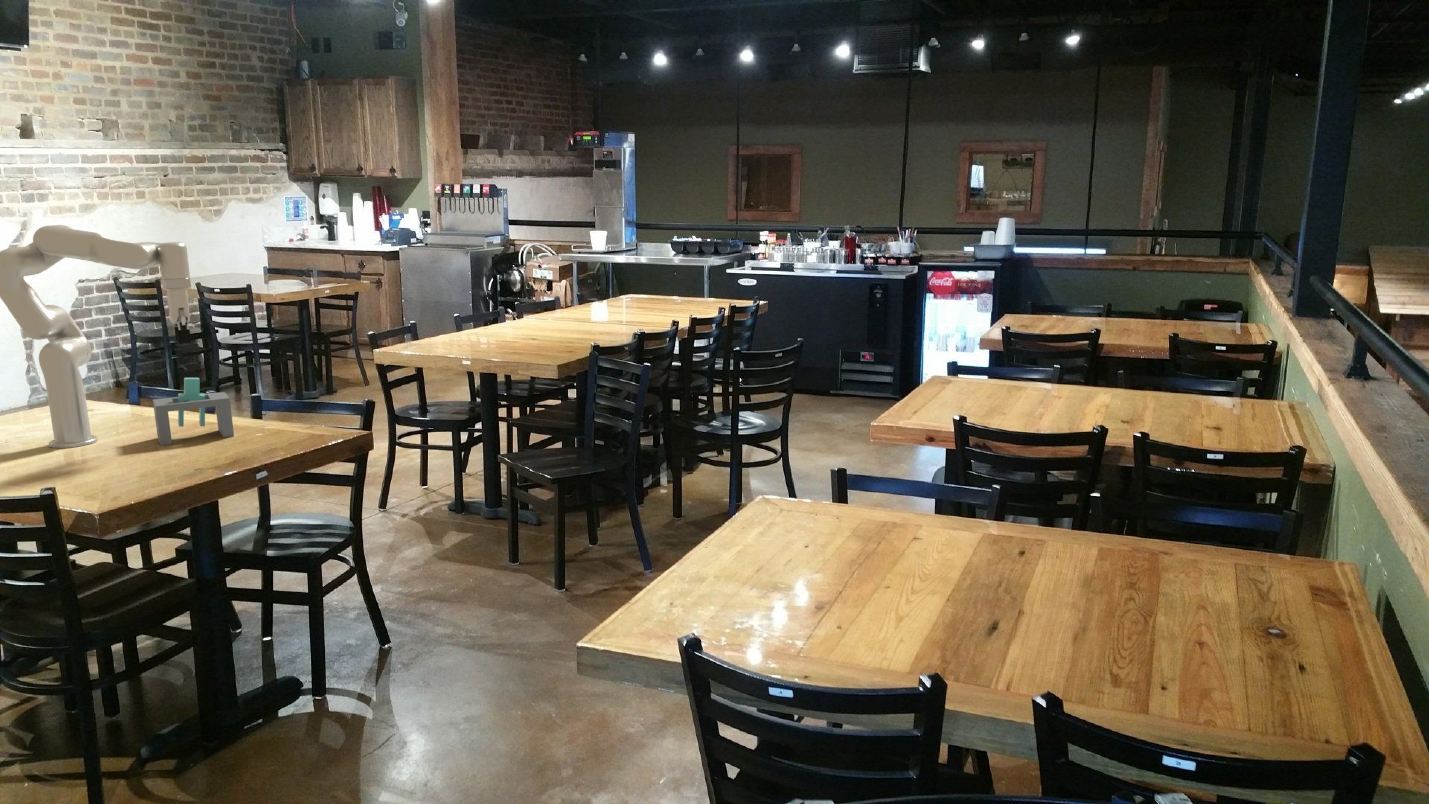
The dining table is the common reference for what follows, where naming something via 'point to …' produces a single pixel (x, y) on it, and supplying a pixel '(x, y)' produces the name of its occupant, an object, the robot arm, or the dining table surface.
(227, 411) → the grey table arch
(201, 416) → the teal arch frame
